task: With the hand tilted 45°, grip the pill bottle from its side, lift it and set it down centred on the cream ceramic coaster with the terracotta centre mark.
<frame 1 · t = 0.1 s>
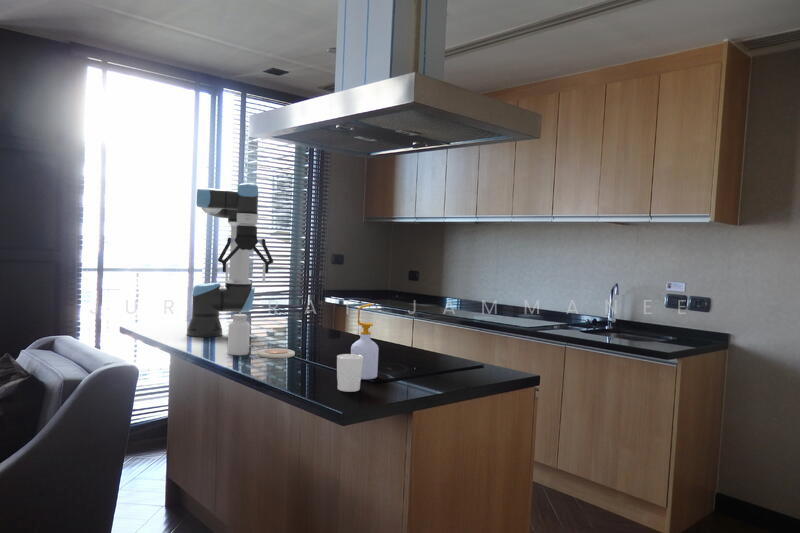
hand: (245, 281, 220), 28 cm above the table, tool pointing down, fingers open, 13 cm apart
pill bottle: (238, 354, 223), on the table
coaster: (276, 354, 224), on the table
soap bottle: (363, 377, 194), on the table
white cup: (348, 389, 176), on the table
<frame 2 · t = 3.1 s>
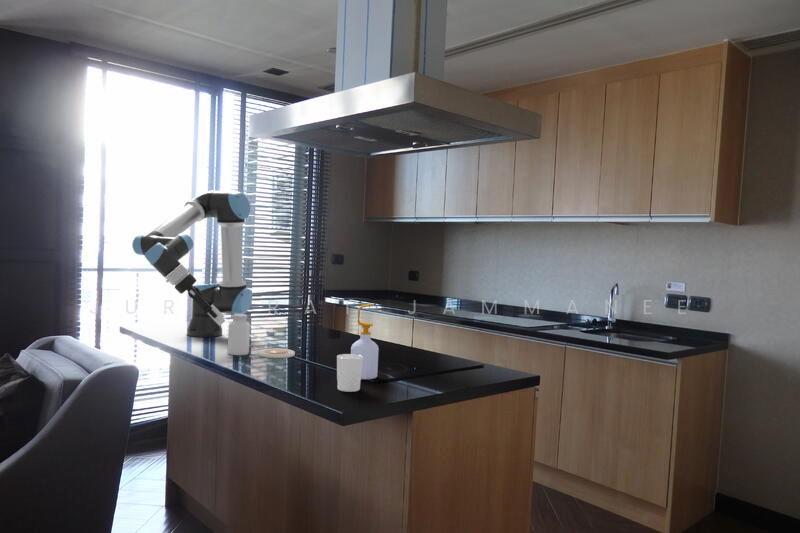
hand: (222, 321, 219), 13 cm above the table, tool tilted 45°, fingers open, 13 cm apart
nothing on the table moved.
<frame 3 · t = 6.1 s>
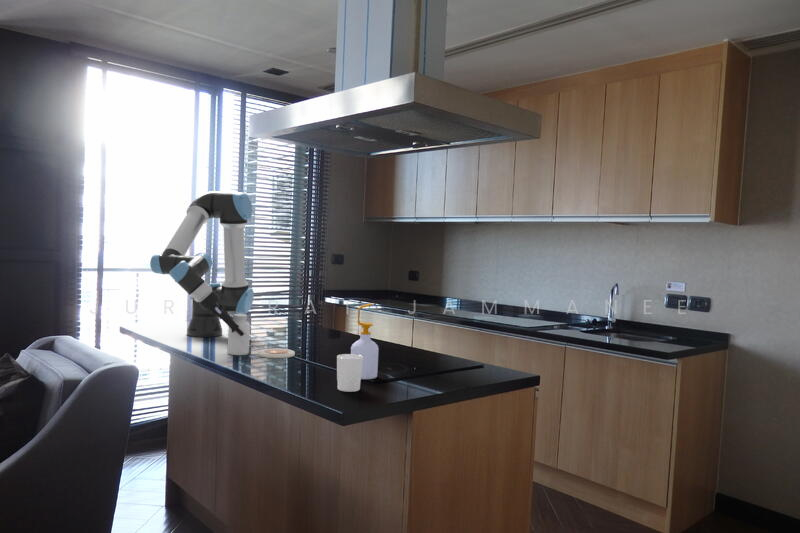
hand: (247, 339, 224), 6 cm above the table, tool tilted 45°, fingers closed on pill bottle, 8 cm apart
pill bottle: (238, 354, 223), on the table, touching gripper
everything else where it was.
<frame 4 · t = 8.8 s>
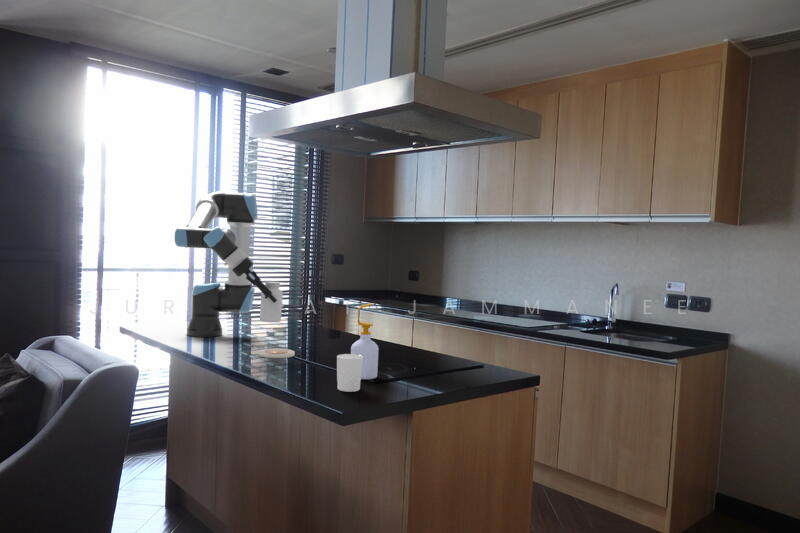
hand: (280, 306, 223), 19 cm above the table, tool tilted 45°, fingers closed on pill bottle, 8 cm apart
pill bottle: (270, 321, 223), point 13 cm above the table, touching gripper
everything else where it was.
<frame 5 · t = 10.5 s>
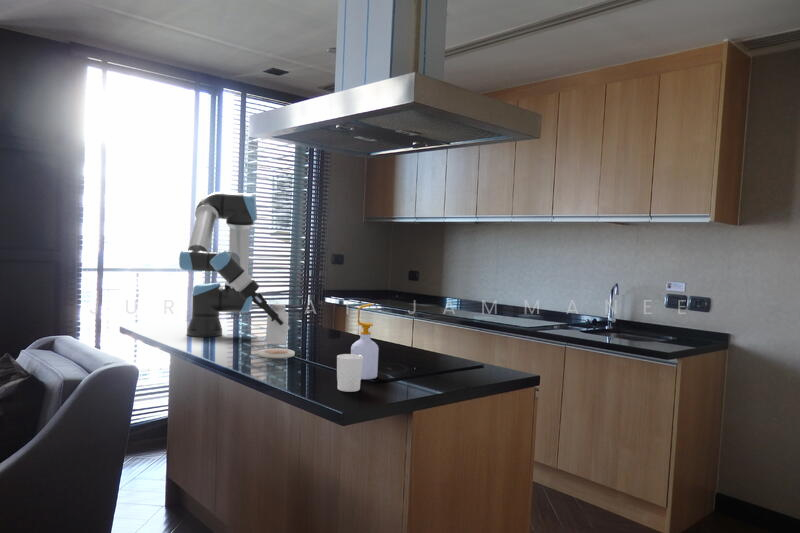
hand: (286, 328, 225), 10 cm above the table, tool tilted 45°, fingers closed on pill bottle, 8 cm apart
pill bottle: (276, 343, 224), point 4 cm above the table, touching gripper
everything else where it was.
when the fingers open (8 cm above the table, at t = 11.8 s): pill bottle drops 1 cm, resting on coaster.
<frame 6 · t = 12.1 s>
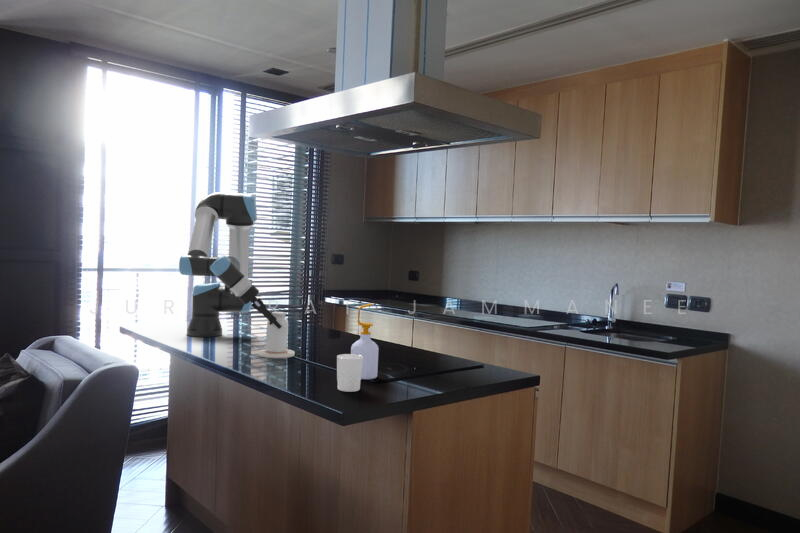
hand: (283, 331, 225), 9 cm above the table, tool tilted 45°, fingers open, 12 cm apart
pill bottle: (276, 351, 224), point 1 cm above the table, touching coaster
everything else where it was.
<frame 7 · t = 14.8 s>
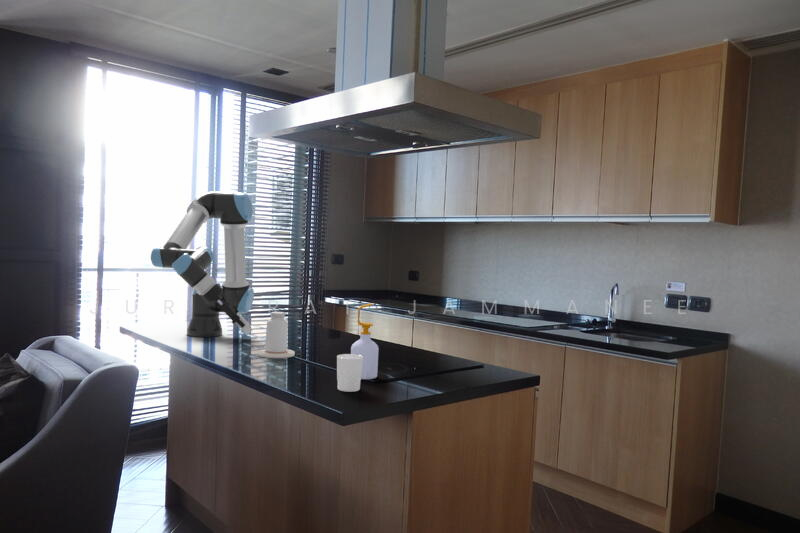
hand: (248, 329, 221), 10 cm above the table, tool tilted 45°, fingers open, 13 cm apart
nothing on the table moved.
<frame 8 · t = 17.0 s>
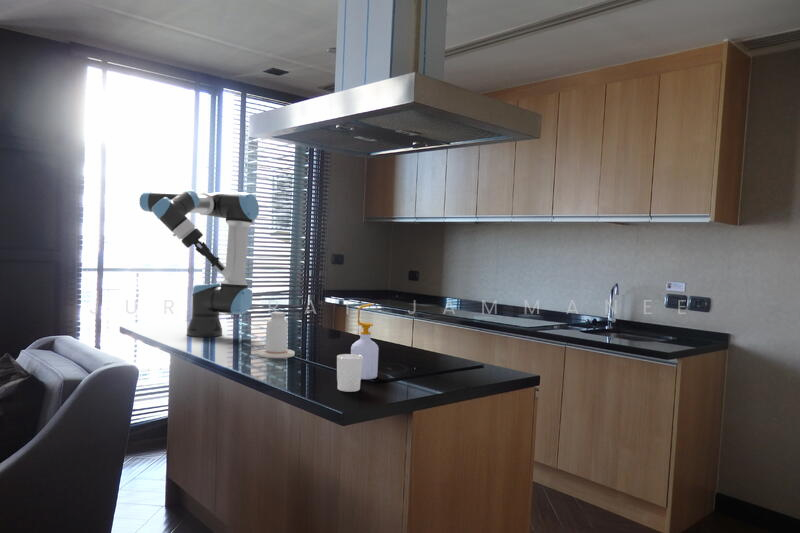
hand: (228, 275, 222), 30 cm above the table, tool tilted 45°, fingers open, 13 cm apart
nothing on the table moved.
at the end: pill bottle 0.1 cm from the coaster (horizontally); pill bottle tilted 0°; the gripper is holding nothing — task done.
